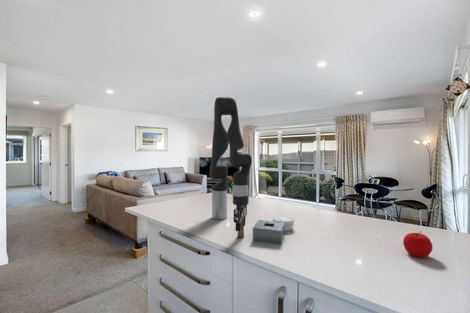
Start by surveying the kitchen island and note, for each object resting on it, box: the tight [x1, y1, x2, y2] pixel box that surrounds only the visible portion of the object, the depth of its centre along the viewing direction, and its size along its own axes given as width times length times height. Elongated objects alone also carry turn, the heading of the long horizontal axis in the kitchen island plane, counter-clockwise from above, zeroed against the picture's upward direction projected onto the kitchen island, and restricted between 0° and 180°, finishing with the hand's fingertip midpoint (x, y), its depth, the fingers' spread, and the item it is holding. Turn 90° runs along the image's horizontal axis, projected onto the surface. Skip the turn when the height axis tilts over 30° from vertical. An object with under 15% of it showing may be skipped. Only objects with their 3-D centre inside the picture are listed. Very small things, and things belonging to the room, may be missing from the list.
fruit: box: [402, 230, 433, 258], centre depth 91 cm, size 9×9×10 cm
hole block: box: [252, 219, 285, 245], centre depth 110 cm, size 13×13×6 cm
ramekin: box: [272, 215, 295, 232], centre depth 124 cm, size 11×11×5 cm
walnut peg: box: [237, 216, 245, 239], centre depth 111 cm, size 3×3×10 cm
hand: (240, 228), depth 110 cm, fingers open, 8 cm apart
